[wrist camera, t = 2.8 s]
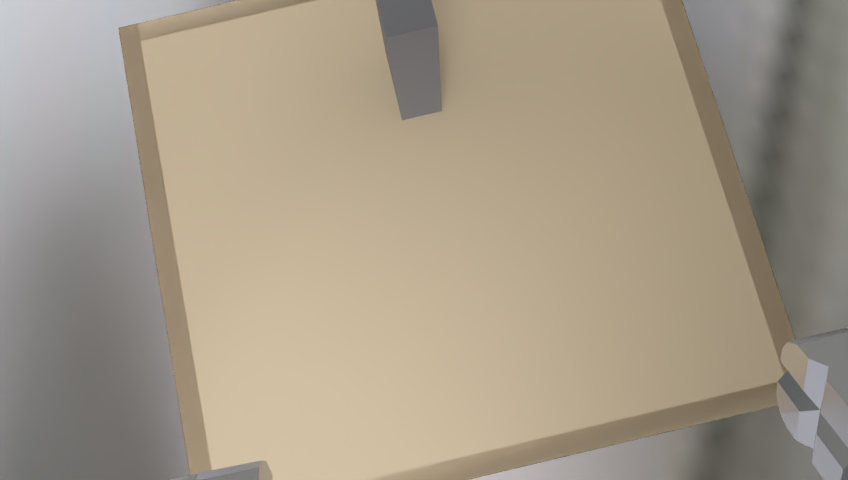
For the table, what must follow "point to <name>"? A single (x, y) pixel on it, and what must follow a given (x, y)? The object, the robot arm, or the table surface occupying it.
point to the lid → (445, 233)
